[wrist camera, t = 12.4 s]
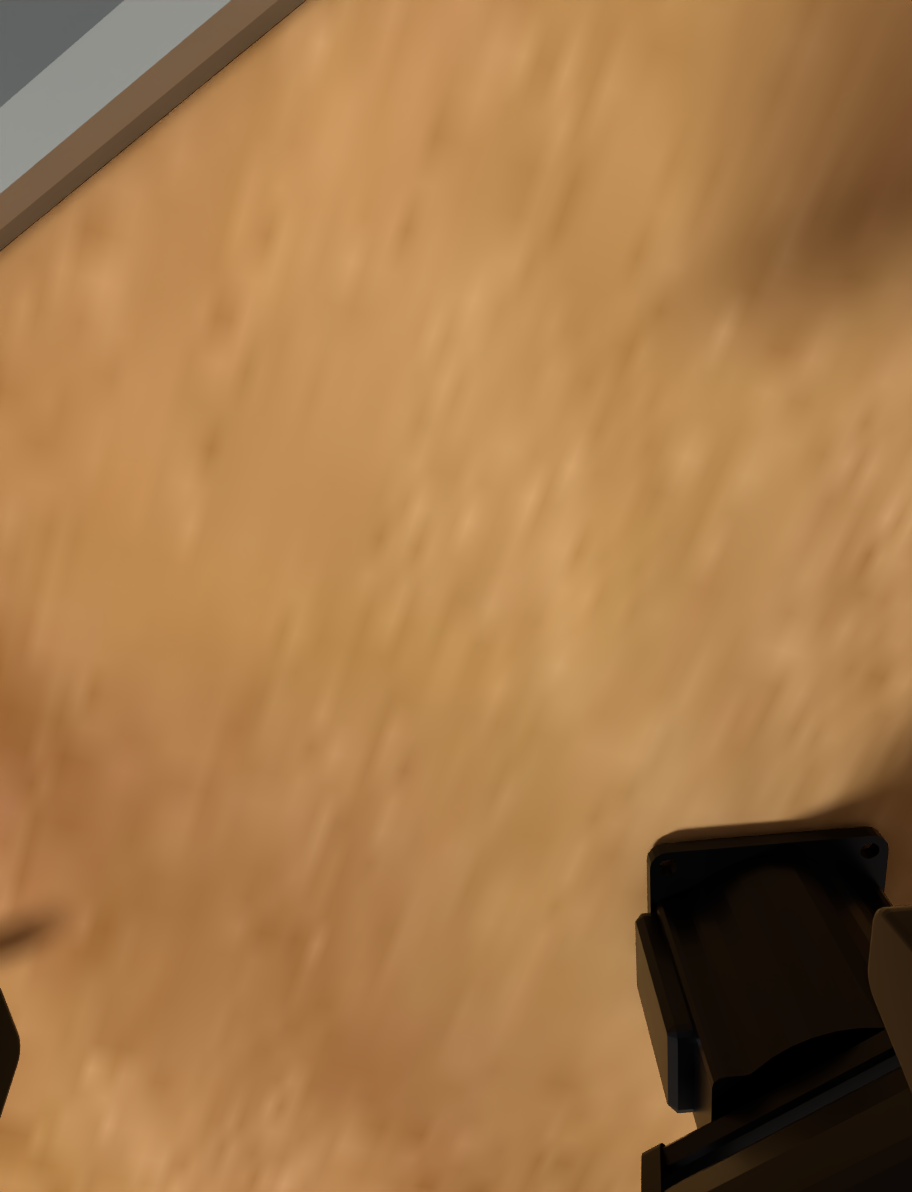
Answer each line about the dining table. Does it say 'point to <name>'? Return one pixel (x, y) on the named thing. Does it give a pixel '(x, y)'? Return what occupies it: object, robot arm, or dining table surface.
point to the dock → (101, 83)
